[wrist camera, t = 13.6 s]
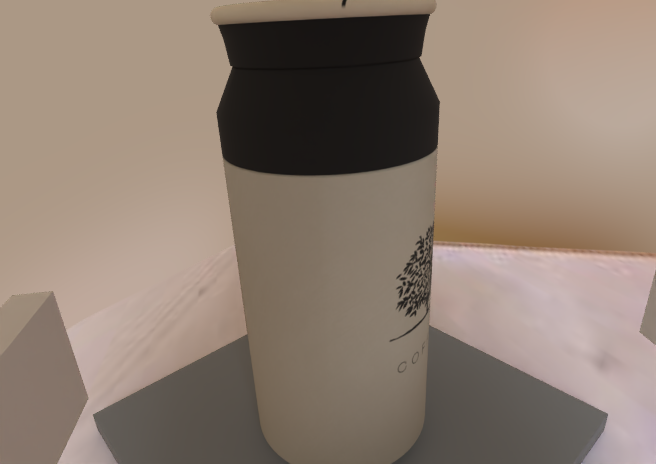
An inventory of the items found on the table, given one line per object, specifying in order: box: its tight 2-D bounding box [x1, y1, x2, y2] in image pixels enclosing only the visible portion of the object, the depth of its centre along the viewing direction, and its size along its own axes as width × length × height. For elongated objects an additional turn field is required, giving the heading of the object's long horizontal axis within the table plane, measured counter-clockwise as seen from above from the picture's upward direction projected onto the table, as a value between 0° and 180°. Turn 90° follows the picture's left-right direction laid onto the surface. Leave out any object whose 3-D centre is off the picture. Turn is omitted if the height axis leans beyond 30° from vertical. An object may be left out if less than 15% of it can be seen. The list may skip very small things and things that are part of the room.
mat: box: [93, 325, 608, 464], centre depth 23 cm, size 18×18×1 cm
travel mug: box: [211, 0, 440, 464], centre depth 19 cm, size 8×8×18 cm
